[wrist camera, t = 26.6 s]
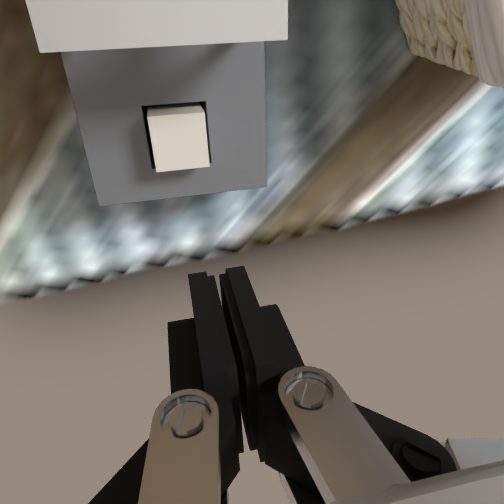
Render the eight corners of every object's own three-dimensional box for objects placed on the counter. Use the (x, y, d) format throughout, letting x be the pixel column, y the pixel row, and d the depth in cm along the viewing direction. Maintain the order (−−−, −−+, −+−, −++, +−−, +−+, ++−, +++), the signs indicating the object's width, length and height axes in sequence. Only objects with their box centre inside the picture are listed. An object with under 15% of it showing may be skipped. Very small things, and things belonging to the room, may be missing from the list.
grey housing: (15, -219, 25) (-118, -457, 13) (235, -207, 27) (303, -398, 15) (107, 177, 38) (86, 251, 26) (250, 162, 40) (293, 223, 28)
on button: (148, 100, 33) (147, 116, 28) (195, 96, 34) (204, 112, 28) (155, 147, 35) (156, 172, 30) (200, 143, 36) (209, 166, 30)
